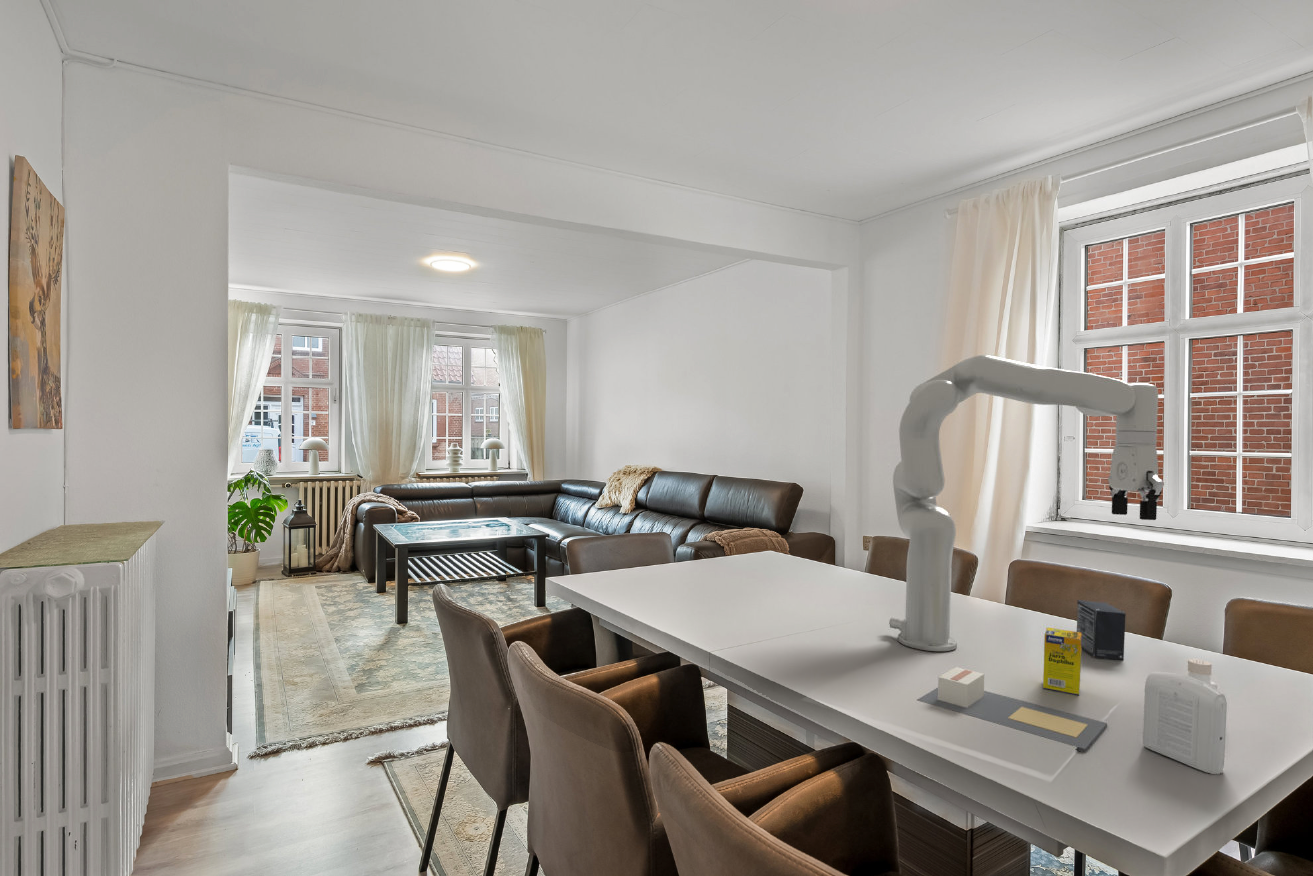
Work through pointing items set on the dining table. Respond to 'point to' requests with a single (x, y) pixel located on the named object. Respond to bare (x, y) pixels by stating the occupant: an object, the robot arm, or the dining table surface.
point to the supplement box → (1062, 661)
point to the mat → (1028, 718)
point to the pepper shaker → (1200, 671)
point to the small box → (1101, 629)
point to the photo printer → (1185, 720)
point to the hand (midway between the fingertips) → (1133, 517)
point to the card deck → (961, 687)
